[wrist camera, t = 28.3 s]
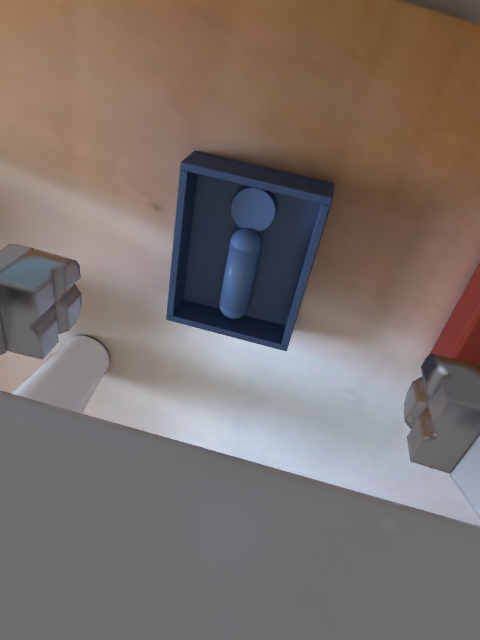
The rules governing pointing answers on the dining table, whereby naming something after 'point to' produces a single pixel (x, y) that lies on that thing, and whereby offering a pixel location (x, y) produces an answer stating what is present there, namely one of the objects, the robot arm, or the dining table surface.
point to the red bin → (463, 327)
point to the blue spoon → (245, 247)
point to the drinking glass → (68, 375)
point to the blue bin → (214, 240)
